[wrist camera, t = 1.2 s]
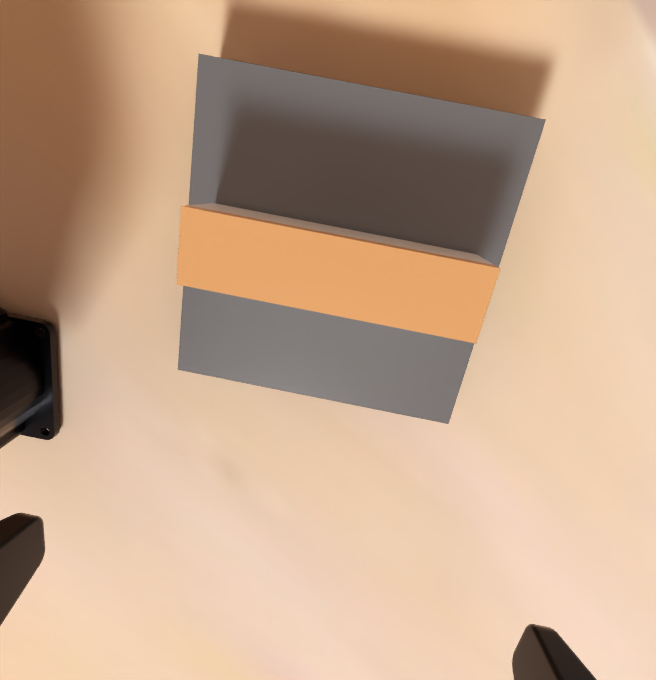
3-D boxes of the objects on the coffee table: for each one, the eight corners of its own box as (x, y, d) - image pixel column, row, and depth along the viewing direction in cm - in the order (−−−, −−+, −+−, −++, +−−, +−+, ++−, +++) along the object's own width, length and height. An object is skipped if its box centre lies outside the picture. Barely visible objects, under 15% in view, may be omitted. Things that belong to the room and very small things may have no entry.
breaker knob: (457, 317, 17) (476, 343, 14) (207, 268, 17) (176, 284, 14) (476, 254, 16) (500, 268, 13) (213, 202, 16) (181, 206, 13)
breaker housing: (440, 402, 21) (448, 423, 19) (194, 353, 21) (177, 369, 19) (525, 127, 16) (545, 119, 15) (217, 68, 17) (198, 53, 15)
